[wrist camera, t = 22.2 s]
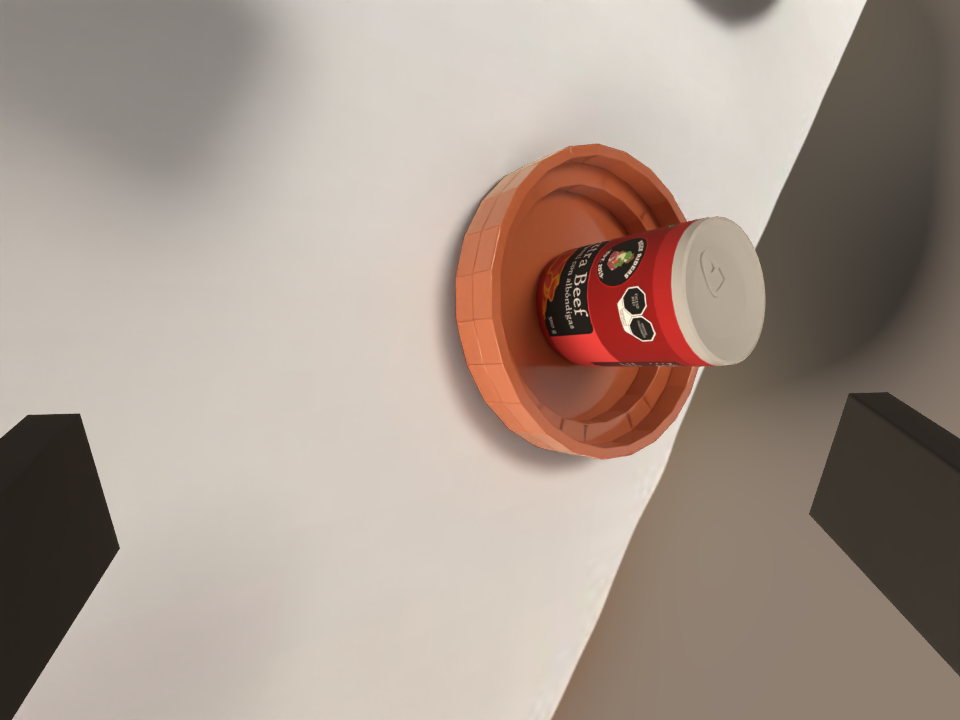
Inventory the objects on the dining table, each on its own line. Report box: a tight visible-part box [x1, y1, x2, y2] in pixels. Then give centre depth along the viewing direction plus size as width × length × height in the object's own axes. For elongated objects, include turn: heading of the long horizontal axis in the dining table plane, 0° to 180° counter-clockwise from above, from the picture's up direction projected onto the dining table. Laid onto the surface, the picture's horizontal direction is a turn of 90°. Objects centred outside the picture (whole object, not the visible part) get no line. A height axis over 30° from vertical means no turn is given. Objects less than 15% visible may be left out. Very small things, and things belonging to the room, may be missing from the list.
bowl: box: [456, 144, 699, 459], centre depth 38 cm, size 19×19×4 cm
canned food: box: [536, 216, 765, 367], centre depth 35 cm, size 8×8×11 cm
